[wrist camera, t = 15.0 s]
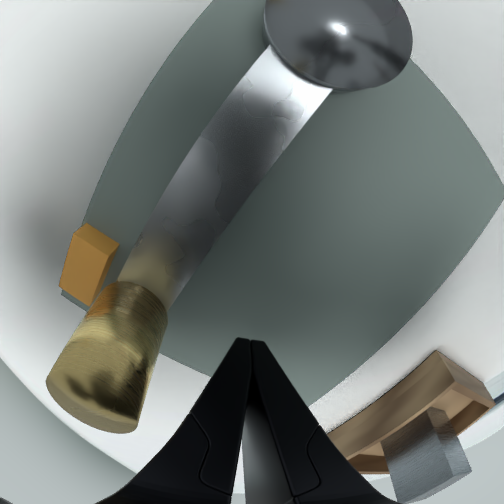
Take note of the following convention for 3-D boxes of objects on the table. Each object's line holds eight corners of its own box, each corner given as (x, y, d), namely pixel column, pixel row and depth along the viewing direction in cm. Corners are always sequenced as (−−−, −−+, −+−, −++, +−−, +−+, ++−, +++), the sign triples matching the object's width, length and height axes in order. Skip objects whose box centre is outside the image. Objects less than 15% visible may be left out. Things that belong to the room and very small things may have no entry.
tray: (436, 349, 13) (455, 381, 11) (483, 383, 16) (495, 404, 13) (313, 442, 17) (318, 471, 14) (391, 452, 19) (398, 473, 17)
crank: (309, -34, 5) (358, -127, 1) (406, 40, 6) (519, 10, 2) (88, 291, 9) (25, 386, 5) (171, 340, 10) (142, 450, 6)
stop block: (423, 403, 14) (453, 476, 9) (445, 410, 15) (472, 471, 10) (378, 435, 16) (398, 505, 10) (405, 439, 17) (425, 498, 11)
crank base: (258, -32, 6) (260, -59, 4) (492, 186, 9) (521, 199, 7) (71, 281, 11) (50, 307, 9) (300, 395, 14) (305, 424, 12)
